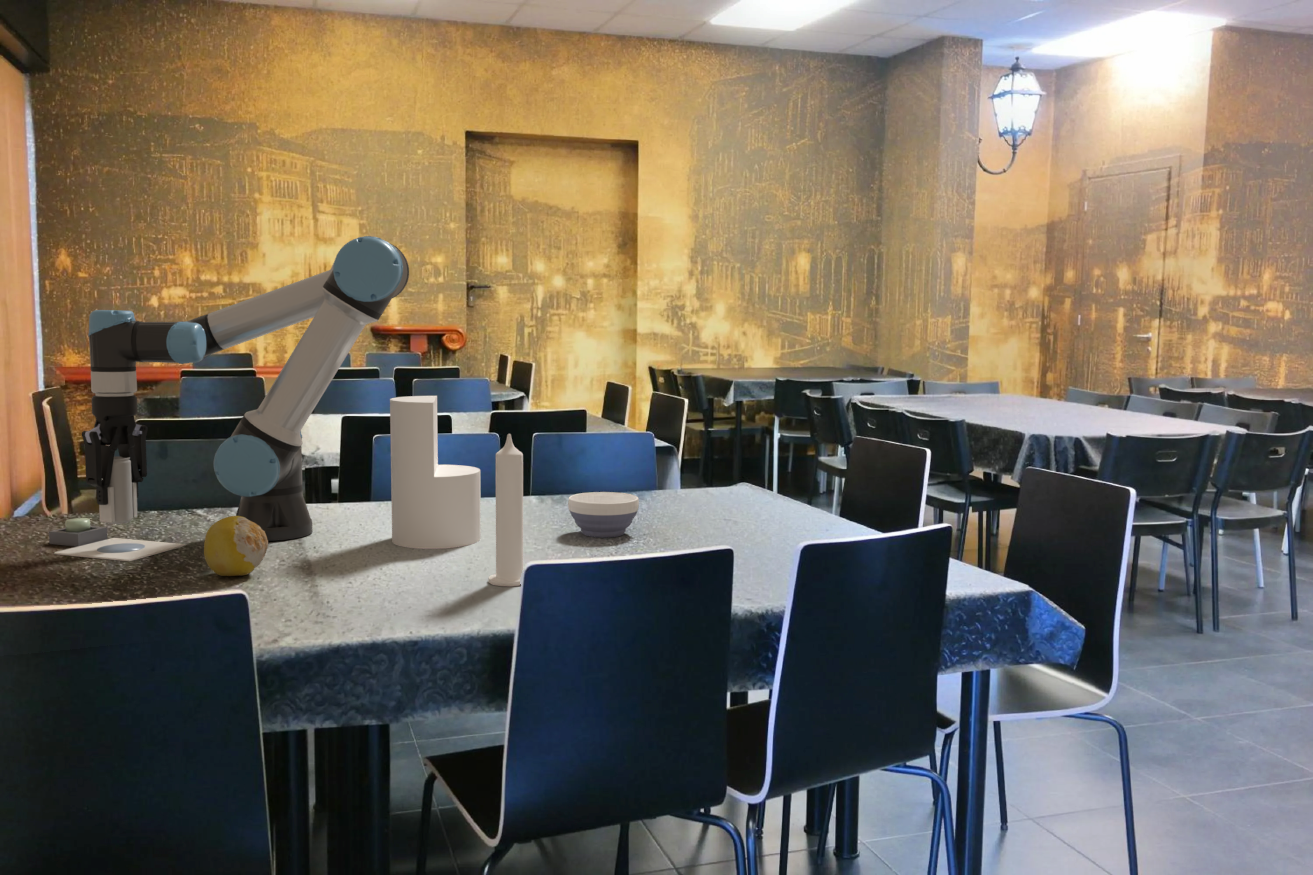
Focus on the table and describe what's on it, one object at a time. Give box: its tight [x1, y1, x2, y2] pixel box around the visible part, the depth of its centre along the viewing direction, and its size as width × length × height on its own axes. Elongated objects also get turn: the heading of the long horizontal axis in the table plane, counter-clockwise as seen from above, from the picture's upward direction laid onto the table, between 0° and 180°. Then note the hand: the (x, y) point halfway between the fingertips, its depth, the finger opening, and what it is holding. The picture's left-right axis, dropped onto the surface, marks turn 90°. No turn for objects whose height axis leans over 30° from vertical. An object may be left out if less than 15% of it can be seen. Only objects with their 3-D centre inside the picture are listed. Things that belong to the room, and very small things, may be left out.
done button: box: [64, 517, 91, 532], centre depth 208 cm, size 4×4×2 cm
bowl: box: [567, 491, 640, 539], centre depth 221 cm, size 14×14×8 cm
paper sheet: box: [53, 537, 186, 562], centre depth 202 cm, size 17×14×1 cm
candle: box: [487, 433, 524, 587], centre depth 180 cm, size 7×7×25 cm
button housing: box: [48, 525, 108, 547], centre depth 208 cm, size 7×7×2 cm
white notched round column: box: [389, 395, 482, 550], centre depth 213 cm, size 17×17×28 cm
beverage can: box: [106, 455, 134, 525], centre depth 200 cm, size 5×5×12 cm
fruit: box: [203, 515, 269, 577], centre depth 183 cm, size 10×11×10 cm
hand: (118, 518), depth 201 cm, fingers closed on beverage can, 5 cm apart
